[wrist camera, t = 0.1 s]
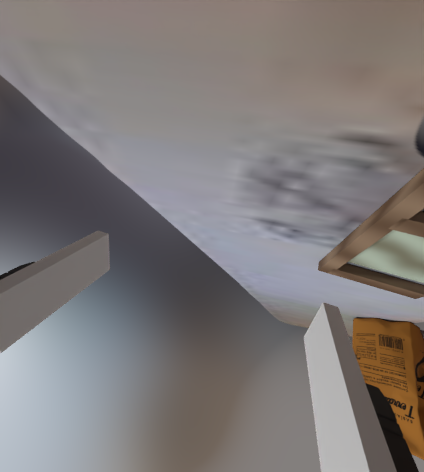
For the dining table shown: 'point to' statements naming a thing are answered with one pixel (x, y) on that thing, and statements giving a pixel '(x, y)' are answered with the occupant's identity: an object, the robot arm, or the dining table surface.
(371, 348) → the coffee package
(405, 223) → the wooden tray frame
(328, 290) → the dining table surface
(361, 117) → the dining table surface
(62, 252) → the robot arm
